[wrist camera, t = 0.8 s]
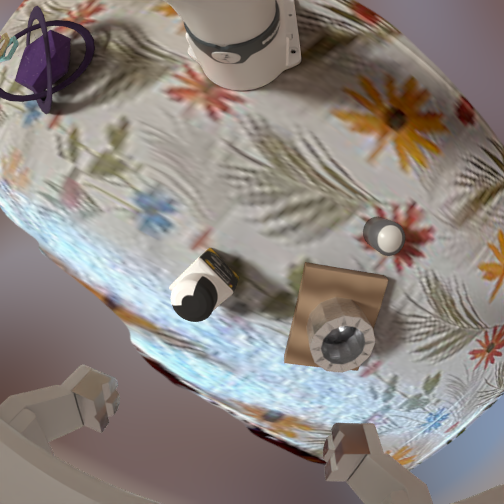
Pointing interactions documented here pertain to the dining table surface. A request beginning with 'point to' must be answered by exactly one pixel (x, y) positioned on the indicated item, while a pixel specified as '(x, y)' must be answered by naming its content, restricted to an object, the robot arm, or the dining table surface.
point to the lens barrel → (339, 335)
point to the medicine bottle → (202, 287)
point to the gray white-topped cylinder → (384, 235)
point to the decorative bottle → (45, 59)
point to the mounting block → (324, 288)
